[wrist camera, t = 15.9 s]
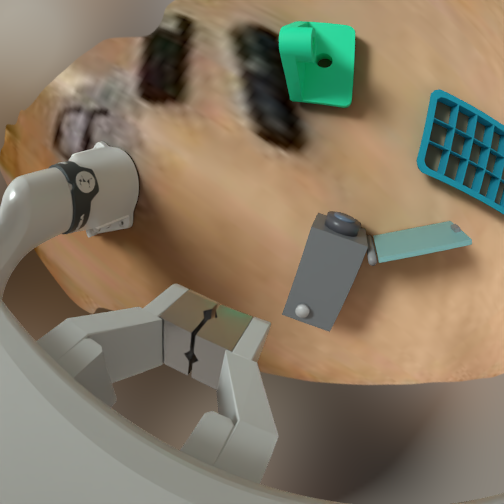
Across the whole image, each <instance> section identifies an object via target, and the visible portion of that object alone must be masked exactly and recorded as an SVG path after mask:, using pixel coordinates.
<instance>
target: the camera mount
mask: <svg viewBox="0 0 504 504" xmlns="http://www.w3.org/2000/svg"><path fill="white" fill-rule="evenodd" d="M279 50H280V55H281V59H282V64H283V68H284V72H285V77H286V81H287V86H288V91H289V95H290V99H291V100H292V101H295V102H305V103H313V104H321V105H328V106H335V107H341V108H346V107H349V106H350V105H351V102H352V90H353V76H354V57H355V30H354V29H353V28H352V27H350V26H347V25H340V24H331V23H319V22H302V21H296V22H294V23H291V24H288V25H286V26H283V27H282V28H281V30H280V34H279ZM321 59H329V60H330V61H332V64H331V65H330V66H329V67H327V68H322V67H320V66H318V62H319V61H320V60H321Z"/></svg>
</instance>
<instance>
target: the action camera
mask: <svg viewBox="0 0 504 504" xmlns="http://www.w3.org/2000/svg"><path fill="white" fill-rule="evenodd" d="M360 226H361V223H360V222H359V221H357V220H356V219H354V218H353V217H351V216H349V215H347V214H344V213H340V212H333V211H331V212H328V214H327V216H326V215H323V214H320V213H318V214H317V216H316V218H315V221H314V223H313V225H312V227H311V230H310V233H309V236H308V239H307V243H306V246H305V249H304V252H303V255H302V258H301V261H300V264H299V267H298V270H297V273H296V276H295V279H294V282H293V285H292V288H291V291H290V293H289V296H288V299H287V302H286V305H285V308H284V310H283V313H282V315H285V316H288V317H290V318H293V319H296V320H298V321H301V322H304V323H307V324H309V325H312V326H315V327H318V328H321V329H324V330H326V331H329V332H330V330H331V328H332V326H333V324H334V322H335V320H336V318H337V316H338V314H339V312H340V310H341V308H342V306H343V304H344V301H345V299H346V297H347V295H348V293H349V291H350V288H351V286H352V284H353V282H354V279H355V277H356V275H357V273H358V270H359V268H360V266H361V263H362V261H363V258H364V256H365V253H366V251H367V249H368V243H367V237H366V231H365V229H363V228H360Z"/></svg>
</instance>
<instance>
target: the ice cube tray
mask: <svg viewBox="0 0 504 504" xmlns="http://www.w3.org/2000/svg"><path fill="white" fill-rule="evenodd" d="M437 102H441V103H443V104H445V105H447V106H449V107H451V112H450V118H449V123H448V124H446V123H444V122H442V121H440V120H438V119H436V118H434V115H435V110H436V104H437ZM458 111H459V112H461V113H463V114H465V115H466V116H468V117H469V120H468V125H467V131H466V133H464V132H462V131H460V130H458V129H456V128H455V127H456V122H457V116H458ZM477 122H479V123H480V124H482V125H484V126H485V131H484V136H483V141H482V142H480V141H478V140H477V139H475V138H474V134H475V129H476V123H477ZM433 123H435V124H437V125H440V126H442V127H444V128H446V129H447V133H446V138H445V142H444V147H443V146H441V145H439V144H437V143H434V142H432V141H430V140H429V139H430V134H431V130H432V125H433ZM493 132H495V133H497V134H498V135H500V139H499V145H498V150H497V152H496V151H495V150H493V149H492V148H491V143H492V137H493ZM454 133H456V134H458V135H460V136H462V137H464V138H465V141H464V145H463V150H462V154H461V155H459V154H457V153H455V152H453V151H451V146H452V142H453V137H454ZM473 143H474V144H476V145H478V146H480V147H481V151H480V155H479V160H478V164H476V163H474V162H472V161H470V160H469V157H470V153H471V149H472V144H473ZM428 144H431V145H433V146H435V147H437V148H439V149H442V150H443V151H442V155H441V159H440V163H439V166H438V170H437V172H436V171H434V170H431V169H429V168H428V167H427V166H426V164H425V161H424V159H425V155H426V151H427V147H428ZM489 153H491V154H493V155H495V156H496V159H495V164H494V168H493V172H492V173H491V172H490V171H488V170H486V166H487V162H488V157H489ZM450 154H452V155H454V156H456V157H458V158H460V162H459V166H458V170H457V173H456V177H455V180H453V179H451V178H449V177H447V176H444V174H445V170H446V166H447V163H448V159H449V155H450ZM468 163H469V164H471V165H473V166H475V167H476V172H475V176H474V179H473V183H472V186H471V189H470V188H468V187H467V186H465V185H463V181H464V177H465V173H466V170H467V166H468ZM417 165H418V168H419V169H420V171H421V172H422V173H424V174H427V175H429V176H431V177H434V178H436V179H438V180H440V181H442V182H444V183H447V184H449V185H451V186H453V187H455V188H457V189H459V190H461V191H463V192H465V193H467V194H469V195H471V196H472V197H474V198H476V199H478V200H480V201H482V202H483V203H485V204H487V205H489V206H490V207H492V208H494V209H496V210H497V211H499V212H501V213H502V214H504V190H503V194H502V197H501V200H500V204H497V203H495V202H494V201H495V198H496V195H497V191H498V188H499V184H500V182H502V183H503V184H504V180H502V179H501V176H502V172H503V168H504V125H502V124H501V123H499V122H498V121H496V120H495V119H493V118H491V117H490V116H488V115H487V114H485V113H483V112H482V111H480V110H478V109H477V108H475V107H473V106H471V105H470V104H468V103H466V102H464V101H462V100H460V99H458V98H457V97H455V96H453V95H451V94H449V93H447V92H444V91H442V90H435V91H434V92H433V93H431V96H430V102H429V108H428V113H427V118H426V123H425V128H424V132H423V137H422V141H421V145H420V149H419V153H418V157H417ZM485 173H487V174H489V175H490V176H491V180H490V184H489V187H488V191H487V194H486V197H485V196H483V195H481V194H480V193H479V192H480V189H481V185H482V182H483V178H484V174H485Z"/></svg>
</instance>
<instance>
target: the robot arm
mask: <svg viewBox="0 0 504 504" xmlns="http://www.w3.org/2000/svg"><path fill="white" fill-rule="evenodd" d="M138 194H139V181H138V175H137V171H136V168H135V165H134V163H133V161H132V160H131V158H130V157H129V155H128V154H127V153H126V152H124V151H123V150H121V149H119V148H115V147H110V146H108V145H107V144H106V143H105V142H103V141H101V142H98V143H97V144H96V145H95V146H94V148H93V149H90V150H86V151H82V152H78V153H75V154H73V155H72V157H71V158H70V159H69V161H67V162H60V163H57V164H55V165H52V166H50V167H49V168H48V169H44V170H40V171H37V172H33V173H29V174H25V175H22V176H19V177H17V178H16V179H14V180H13V181H12V182H11V183H10V185H9V186H8V187H7V189H6V191H5V193H4V196H3V199H2V203H1V207H0V504H347V503H339V502H333V501H326V500H321V499H316V498H311V497H306V496H301V495H298V494H293V493H289V492H286V491H282V490H278V489H275V488H271V487H268V486H264V485H261V484H260V482H261V480H262V477H263V475H264V472H265V470H266V468H267V465H268V463H269V460H270V458H271V455H272V452H273V450H274V447H275V445H276V442H277V439H278V437H279V435H278V432H277V429H276V426H275V422H274V419H273V415H272V412H271V409H270V406H269V402H268V398H267V395H266V392H265V388H264V385H263V381H262V377H261V374H260V370H259V367H258V363H257V362H258V359H259V357H260V354H261V352H262V349H263V346H264V343H265V341H266V338H267V335H268V332H269V329H270V326H271V322H268V321H265V320H263V319H260V318H257V317H253V316H251V315H248V314H246V313H243V312H241V311H238V310H236V309H233V308H231V307H228V306H226V305H220V303H219V302H217V301H214V300H212V299H210V298H208V297H205V296H203V295H201V294H199V293H197V292H195V291H193V290H190V289H188V288H186V287H183V286H181V285H179V284H173V285H171V286H170V287H169V288H168V289H166V290H165V291H164V292H163V293H161V294H160V295H159V296H158V297H156V298H155V299H154V300H153V301H152V302H150V303H149V304H148V305H147V306H146V307H144V308H143V309H142V308H140V307H134V308H129V309H123V310H117V311H111V312H105V313H99V314H93V315H87V316H80V317H74V318H68V319H66V320H65V321H63V322H62V323H61V324H59V325H58V326H57V327H55V328H54V329H52V330H51V331H50V332H49V333H47V334H46V335H44V336H43V337H42V338H40V339H39V340H38V341H35V340H34V339H33V338H32V337H31V335H30V334H29V333H28V332H27V331H26V330H25V329H24V327H23V326H22V325H21V324H20V323H19V322H18V320H17V319H16V318H15V317H14V315H13V314H12V313H11V312H10V311H9V309H8V308H7V307H6V305H5V304H4V303H3V301H2V296H3V291H4V288H5V285H6V283H7V280H8V278H9V276H10V275H11V273H12V271H13V269H14V268H15V267H16V265H17V264H18V263H19V261H20V260H21V259H22V258H23V257H24V256H25V255H26V254H27V253H28V252H29V251H31V250H32V249H33V248H35V247H37V246H38V245H40V244H42V243H44V242H46V241H47V240H49V239H51V238H53V237H55V236H58V235H60V234H68V233H73V232H75V231H76V232H78V231H83V230H86V232H87V236H88V237H91V236H94V235H96V234H98V233H103V232H109V231H114V230H120V229H126V228H130V227H131V226H132V225H133V211H134V208H135V205H136V203H137V199H138ZM163 363H164V364H166V365H168V366H170V367H172V368H174V369H176V370H178V371H180V372H182V373H184V374H186V375H188V374H189V373H190V371H191V370H192V378H194V379H196V380H198V381H200V382H202V383H204V384H206V385H208V386H210V387H212V388H214V389H216V390H217V401H218V411H219V414H218V413H216V412H213V411H211V412H208V413H205V414H204V416H203V417H202V418H201V420H200V421H199V423H198V424H197V426H196V427H195V429H194V431H193V432H192V433H191V435H190V437H189V438H188V440H187V441H186V443H185V444H184V445H183V447H182V448H181V450H177V449H176V448H174V447H172V446H170V445H168V444H167V443H165V442H163V441H161V440H159V439H158V438H156V437H154V436H153V435H151V434H149V433H148V432H146V431H144V430H143V429H141V428H140V427H138V426H137V425H135V424H133V423H132V422H130V421H129V420H128V419H126V418H124V417H123V416H122V415H120V414H119V413H117V412H116V411H115V410H113V409H112V408H111V407H112V405H114V403H115V402H116V395H115V392H114V389H113V386H112V383H113V382H116V381H119V380H122V379H125V378H127V377H130V376H133V375H136V374H139V373H141V372H144V371H147V370H149V369H152V368H155V367H157V366H160V365H162V364H163ZM452 504H504V493H501V494H498V495H494V496H490V497H485V498H481V499H476V500H471V501H466V502H459V503H452Z"/></svg>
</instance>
